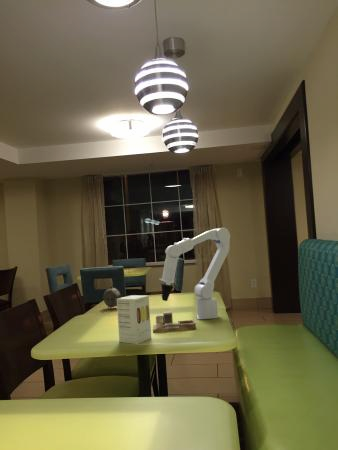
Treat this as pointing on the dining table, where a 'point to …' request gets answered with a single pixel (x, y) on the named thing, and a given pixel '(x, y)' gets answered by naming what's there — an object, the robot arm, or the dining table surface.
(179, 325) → the rail base
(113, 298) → the alarm clock
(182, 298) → the dining table surface
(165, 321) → the block
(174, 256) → the robot arm
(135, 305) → the supplement box
